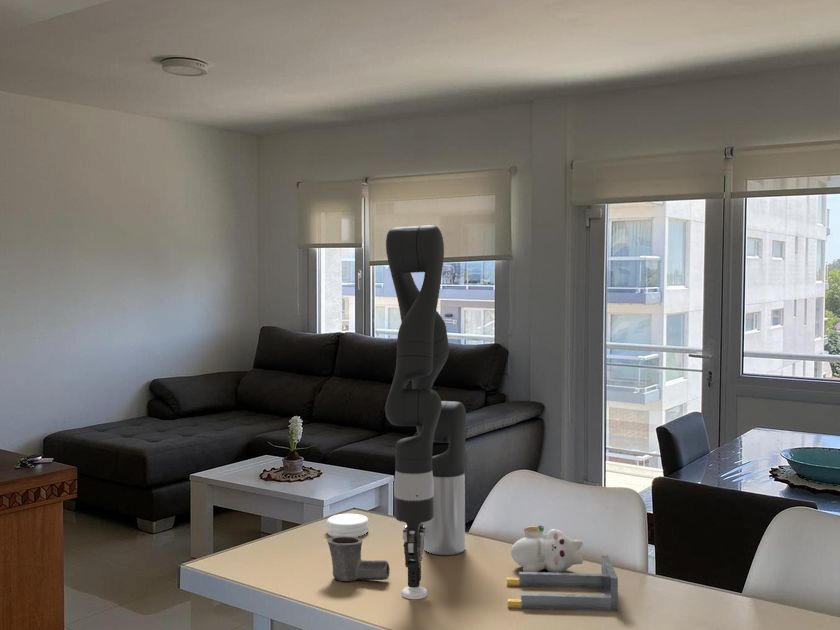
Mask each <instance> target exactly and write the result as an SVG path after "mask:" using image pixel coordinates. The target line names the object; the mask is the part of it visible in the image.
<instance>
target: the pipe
mask: <svg viewBox="0 0 840 630" xmlns="http://www.w3.org/2000/svg"><path fill="white" fill-rule="evenodd" d="M326 541H327V544H328V547H329V551H330V556H331V564H332V576H333V578H334V579H335V580H337V581H339V582H353V581H357V580H358V581H359V580H361V581H383V580H384V581H385V580H386V581H387V580H388V579H389V577H390V575H391V574H390V573H391V572H390V565H389V563H388V561H387V560H386V559H385V560H384V559H383V560H382V559H381V560H380V559H379V560H367V559H366V560H364V559H362V555H361V554H362V545H363V540H362V538H360V537H350V536H339V537H332V536H331V537H329V538H327V539H326Z"/></svg>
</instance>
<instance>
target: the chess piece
mask: <svg viewBox="0 0 840 630" xmlns="http://www.w3.org/2000/svg"><path fill="white" fill-rule="evenodd" d="M411 561H416V560H415V559H411ZM401 596H402V598H404V599H409V600H420V599H424V598H426V597H428V589H427V588H425V587H424V586H422V585H421V584H420V585H419V587H409V586H408V585H407V586H406V587H404V588H403V589H402V590H401Z"/></svg>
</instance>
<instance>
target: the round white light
mask: <svg viewBox="0 0 840 630" xmlns="http://www.w3.org/2000/svg"><path fill="white" fill-rule="evenodd" d="M369 526H370V525H369V518H368V517H367V516H365V515H364V514H361V513H359V514H358V513H339V514H333V515H332V516H330V517H328V518H327V519H326V533H327V535H328V536H330V537H331V538H332V537H339V536H350V537H356V538H358V537H357V536H360V537H362V536H361V535H363V536H365V535H367V534H368V533H369ZM367 532H368V533H367ZM366 533H367V534H366ZM364 534H365V535H364Z"/></svg>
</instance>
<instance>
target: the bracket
mask: <svg viewBox="0 0 840 630" xmlns="http://www.w3.org/2000/svg"><path fill="white" fill-rule="evenodd" d="M518 575H519V576H518V577H512V576H511V577H510V576H509V577H508V576H507V577H506V586H509V587H512V586H513V587H538V588H540V587H543V588H545V587H547V588H576V589H580V588H581V589H582V588H583V589H584V588H585V589H602V591H603V594H604V595H603V594H576V593H573V594H570V593H545V592H544V593H543V592H542V593H541V592H540V593H539V592H520V598H519V599H518V598H507V609H527V610H528V609H532V610H534V609H535V610H560V611H561V610H565V611H589V612H590V611H593V612H594V611H596V612H601V611H602V612H618V611H619V610H618V609H619V604H618V603H619V602H618V601H619V596H618V595H619V594H618V593H619V583H618V581H619V579H618V576H617V573H616V571H615V569H614V567H613V564H612V562H611V560H610V558H609V555H601V573H587V572H586V573H581V572H575V573H574V572H557V573H552V572H549V571H547V572H546V571H542V572H541V571H538V572H524V571H518Z"/></svg>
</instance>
